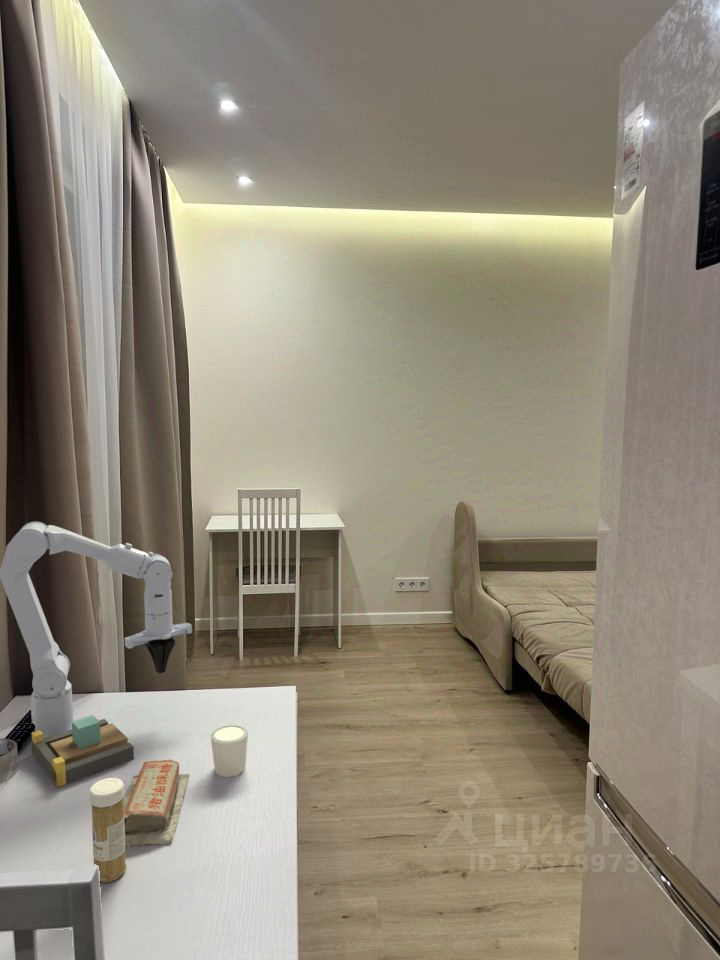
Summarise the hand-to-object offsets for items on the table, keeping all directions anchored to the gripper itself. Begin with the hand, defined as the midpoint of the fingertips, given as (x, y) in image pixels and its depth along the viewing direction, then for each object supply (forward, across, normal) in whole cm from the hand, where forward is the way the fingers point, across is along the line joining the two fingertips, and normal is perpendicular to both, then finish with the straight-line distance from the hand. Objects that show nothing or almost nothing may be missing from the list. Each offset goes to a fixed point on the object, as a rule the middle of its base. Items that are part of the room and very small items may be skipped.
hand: (160, 671), depth 139 cm
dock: (+10, -19, -6) cm, 22 cm away
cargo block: (+7, -18, -6) cm, 20 cm away
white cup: (+10, 0, -29) cm, 31 cm away
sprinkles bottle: (+10, -27, -41) cm, 50 cm away
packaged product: (+11, -16, -31) cm, 37 cm away
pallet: (+10, -18, -6) cm, 21 cm away
